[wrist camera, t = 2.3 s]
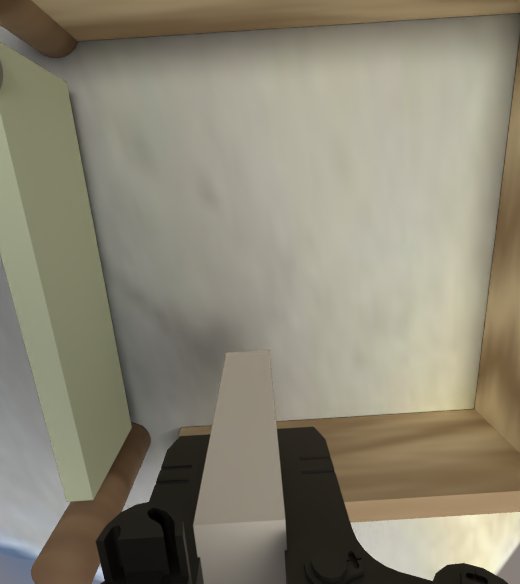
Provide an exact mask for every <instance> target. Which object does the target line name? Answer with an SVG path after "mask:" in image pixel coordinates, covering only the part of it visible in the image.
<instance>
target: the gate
mask: <svg viewBox="0 0 520 584" xmlns="http://www.w3.org/2000/svg"><path fill="white" fill-rule="evenodd" d="M0 254H1V258H2V262H3V265H4V269H5V273H6V277H7V280H8V284H9V288H10V292H11V295H12V299H13V303H14V307H15V310H16V314H17V318H18V321H19V325H20V329H21V333H22V336H23V340H24V344H25V348H26V351H27V355H28V359H29V363H30V366H31V370H32V374H33V378H34V381H35V385H36V389H37V393H38V396H39V400H40V404H41V408H42V411H43V415H44V419H45V423H46V426H47V430H48V434H49V438H50V441H51V445H52V449H53V453H54V456H55V460H56V464H57V468H58V471H59V475H60V479H61V483H62V486H63V490H64V494H65V498H66V501H67V502H71V501H86V500H94V498H95V496H96V494H97V492H98V490H99V489H100V487H101V485H102V483H103V481H104V479H105V477H106V475H107V473H108V472H109V470H110V468H111V466H112V464H113V462H114V460H115V458H116V456H117V455H118V453H119V451H120V449H121V447H122V445H123V443H124V441H125V439H126V438H127V436H128V434H129V432H130V430H131V428H132V426H131V421H130V415H129V410H128V405H127V399H126V394H125V389H124V384H123V378H122V373H121V368H120V362H119V357H118V352H117V347H116V341H115V336H114V331H113V325H112V320H111V315H110V310H109V304H108V299H107V294H106V288H105V283H104V278H103V273H102V267H101V262H100V257H99V251H98V246H97V241H96V236H95V230H94V225H93V220H92V214H91V209H90V204H89V199H88V193H87V188H86V183H85V177H84V172H83V167H82V162H81V156H80V151H79V146H78V140H77V135H76V130H75V125H74V119H73V114H72V109H71V103H70V98H69V93H68V87H67V82H65V81H64V80H62V79H60V78H59V77H57V76H55V75H54V74H52V73H50V72H49V71H47V70H45V69H44V68H42V67H41V66H39V65H37V64H36V63H34V62H32V61H31V60H29V59H27V58H26V57H24V56H22V55H21V54H19V53H18V52H16V51H14V50H13V49H11V48H9V47H8V46H6V45H4V44H3V43H1V42H0Z"/></svg>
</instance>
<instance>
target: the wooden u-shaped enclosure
mask: <svg viewBox="0 0 520 584" xmlns="http://www.w3.org/2000/svg"><path fill="white" fill-rule="evenodd" d="M510 13H520V0H0V25H1V26H2V27H4V28H5V29H7V30H8V31H10V32H11V33H13V34H14V35H16V36H17V37H19V38H20V39H22V40H23V41H24V42H26V43H27V44H29V45H30V46H32V47H33V48H35V49H36V50H38V51H39V52H41V53H42V54H44V55H46V56H49V57H54V58H59V57H63V56H66V55H68V54H69V53H70V52H71V51H72V50H73V49H74V48H75V46H76V44H77V41H87V40H103V39H119V38H134V37H150V36H165V35H181V34H197V33H212V32H228V31H244V30H259V29H275V28H291V27H306V26H322V25H338V24H353V23H369V22H384V21H400V20H416V19H431V18H447V17H463V16H478V15H494V14H510ZM131 426H132V428H131V430H130V432H129V434H128V436H127V438H126V439H125V441H124V443H123V445H122V447H121V449H120V451H119V453H118V455H117V456H116V458H115V460H114V462H113V464H112V466H111V468H110V470H109V472H108V473H107V475H106V477H105V479H104V481H103V483H102V485H101V487H100V489H99V490H98V492H97V494H96V496H95V498H94V500H86V501H71V502H70V504H69V506H68V507H67V509H66V511H65V512H64V514H63V516H62V517H61V519H60V521H59V522H58V524H57V526H56V527H55V529H54V531H53V532H52V534H51V536H50V537H49V539H48V541H47V542H46V544H45V546H44V547H43V549H42V551H41V552H40V554H39V556H38V557H37V559H36V561H35V562H34V564H33V566H32V570H31V575H32V579H33V581H34V582H35V584H91V583H92V581H93V579H94V576H95V574H96V572H97V569H98V567H99V564H100V558H99V554H98V550H97V545H96V540H97V538H98V537H99V535H100V534H101V532H102V531H103V529H104V528H105V526H106V525H107V524H108V523H109V522H110V521H112V520H113V519H114V518H115V517H116V516H117V515H118V514H120V513H121V512H122V510H123V507H124V505H125V503H126V500H127V498H128V495H129V493H130V491H131V488H132V486H133V483H134V481H135V479H136V476H137V474H138V472H139V469H140V467H141V464H142V462H143V460H144V457H145V455H146V452H147V450H148V448H149V445H150V435H149V433H148V432H147V430H146V429H145V428H143V427H142V426H140V425H138V424H135V423H131ZM276 426H277V429H281V428H297V427H313V426H314V427H315V428H316V429H317V431H318V432H319V433H320V434H321V435H322V436H323V437H324V438H325V439H326V442H327V446H328V449H329V453H330V457H331V459H332V463H333V466H334V471H335V473H336V476H337V480H338V483H339V486H340V490H341V493H342V496H343V500H344V503H345V507H346V510H347V513H348V517H349V520H350V522H366V521H382V520H397V519H413V518H429V517H445V516H460V515H476V514H492V513H507V512H520V42H519V50H518V58H517V66H516V74H515V82H514V91H513V99H512V107H511V115H510V123H509V131H508V140H507V148H506V156H505V164H504V172H503V180H502V188H501V197H500V205H499V213H498V221H497V229H496V237H495V246H494V254H493V262H492V270H491V278H490V286H489V294H488V303H487V311H486V319H485V327H484V335H483V343H482V352H481V360H480V368H479V376H478V384H477V392H476V400H475V409H469V410H453V411H437V412H422V413H406V414H390V415H374V416H359V417H343V418H327V419H312V420H296V421H280V422H276ZM211 430H212V426H202V427H186V428H181V430H180V433H179V436H178V438H179V437H180V436H190V435H206V434H211Z"/></svg>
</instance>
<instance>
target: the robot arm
mask: <svg viewBox="0 0 520 584" xmlns="http://www.w3.org/2000/svg"><path fill="white" fill-rule="evenodd" d="M96 545H97V550H98V554H99V558H100V562H101V567H102V571H103V575H104V579H105V581H104V582H102V583H101V584H508V583H507V582H505V581H504V580H503V579H501V578H500V577H498V576H496V575H494V574H493V573H491V572H489V571H487V570H485V569H484V568H480V567H476V566H473V565H469V564H465V563H461V564H452V565H447V566H445V567H444V568H442V569H441V570H440V571H438V572H437V573H436V574H435V577H434V580H433V581H430V580H427V579H423V578H419V577H416V576H412V575H409V574H405V573H401V572H398V571H396V570H393V569H391V568H388V567H386V566H384V565H383V564H381V563H380V562H378V561H376V560H375V559H374V558H373V557H371V556H370V555H369V554H368V553H367V552H366V551H365V550H364V549H363V547H362V546H361V545H360V543H359V542H358V541H357V539H356V537H355V534H354V532H353V530H352V527H351V524H350V520H349V517H348V513H347V510H346V507H345V503H344V500H343V496H342V493H341V490H340V486H339V483H338V480H337V476H336V473H335V471H334V466H333V463H332V459H331V457H330V453H329V449H328V446H327V442H326V439H325V438H324V437H323V436H322V435H321V434H320V433H319V432H318V431H317V429H316V428H315V427H314V426H313V427H297V428H281V429H277V426H276V415H275V405H274V394H273V383H272V373H271V362H270V352H269V350H262V351H246V352H230V353H226V357H225V362H224V367H223V372H222V378H221V383H220V388H219V393H218V398H217V404H216V409H215V414H214V419H213V424H212V430H211V434H206V435H190V436H180V437H179V438H178V439H177V440H176V441H175V442H174V443H173V445H172V446H171V447H170V448H169V449H168V450H167V453H166V455H165V458H164V461H163V464H162V467H161V470H160V472H159V475H158V478H157V481H156V485H155V486H154V489H153V492H152V495H151V498H150V501H149V502H147V503H142V504H137V505H135V506H133V507H131V508H129V509H127V510H125V511H123V512H121V513H120V514H118V515H117V516H116V517H115V518H114V519H113V520H112V521H110V522H109V523H108V524H107V525H106V526H105V528H104V529H103V531H102V532H101V534H100V535H99V537H98V538H97V540H96Z"/></svg>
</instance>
